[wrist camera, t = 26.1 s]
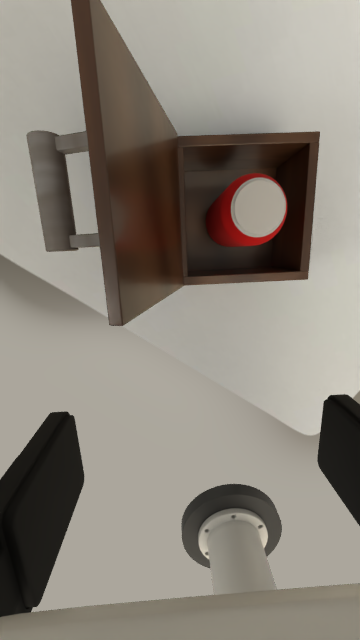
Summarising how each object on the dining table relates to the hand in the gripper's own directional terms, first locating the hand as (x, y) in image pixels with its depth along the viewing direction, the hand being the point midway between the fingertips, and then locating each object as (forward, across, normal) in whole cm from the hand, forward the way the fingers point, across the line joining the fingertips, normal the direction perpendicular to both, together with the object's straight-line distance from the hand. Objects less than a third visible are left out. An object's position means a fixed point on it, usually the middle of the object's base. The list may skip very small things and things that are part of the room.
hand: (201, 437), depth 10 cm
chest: (+28, -7, -10) cm, 31 cm away
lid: (+12, +1, -10) cm, 16 cm away
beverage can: (+28, -7, -10) cm, 30 cm away
